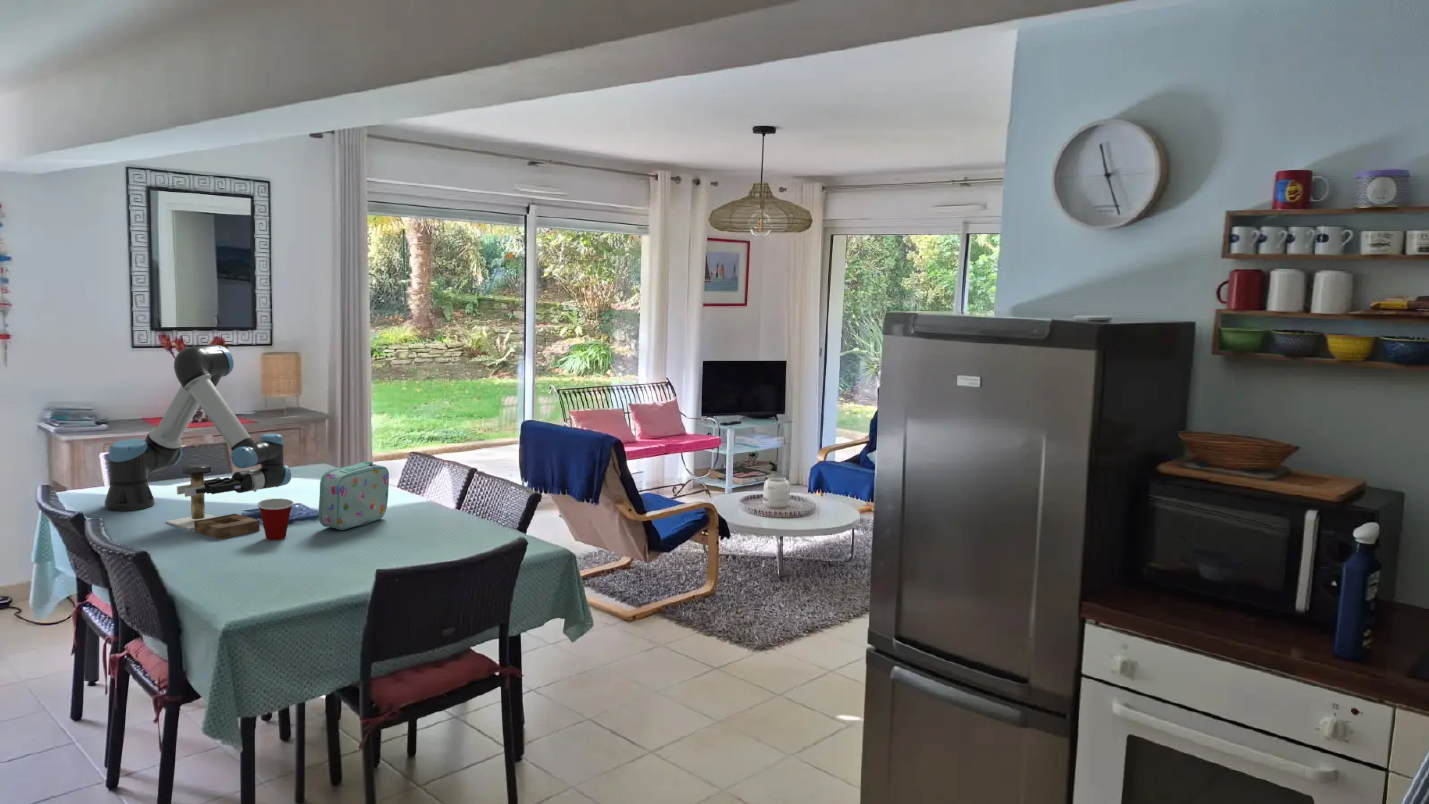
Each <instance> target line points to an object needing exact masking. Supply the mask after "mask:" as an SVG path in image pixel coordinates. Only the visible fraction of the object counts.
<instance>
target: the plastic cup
mask: <svg viewBox="0 0 1429 804" xmlns="http://www.w3.org/2000/svg"><path fill="white" fill-rule="evenodd" d="M256 506H257V507H258V508H259V512H260V516H261V521H262V526H263V529H264V534H265V537H266V540H267V541H268V540H269V541H281V540H284V539H286V536H287V531H288V527H289V521H290V515H291V512H292V511H291V510H292V507H293V506H294V501H293V500H291V499H288V498H268V499H264V500H260V501H259V502H258V503H257V504H256Z"/></svg>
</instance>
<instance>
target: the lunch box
mask: <svg viewBox="0 0 1429 804" xmlns="http://www.w3.org/2000/svg"><path fill="white" fill-rule="evenodd" d="M389 483H390V473H389V469H388V468H387V467H386V466H384V465H379V464H376V463H374V462H373V461H368V460H366V461H362V462H358V463H355V464H351V465H347V466H341V467H338V468H337V467H336V468H331V469H328V470H327V471H324V473H323V475H322V476H321V478H320V481H319V497H318V498H319V500H318V513H317V515H318V520H319V523H320V525H322V526H323V527H325V528H327V527H330V528H334V529H337V530H340V531H344V530H348V529H350V528H355V527H358V526H364V525H365V526H366V525H368V524H369V523H372V522H375V521H378V520H380V519H382V518H383V517H384V515H385V514H386V511H387V508H388V499H389V487H390V486H389Z"/></svg>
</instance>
